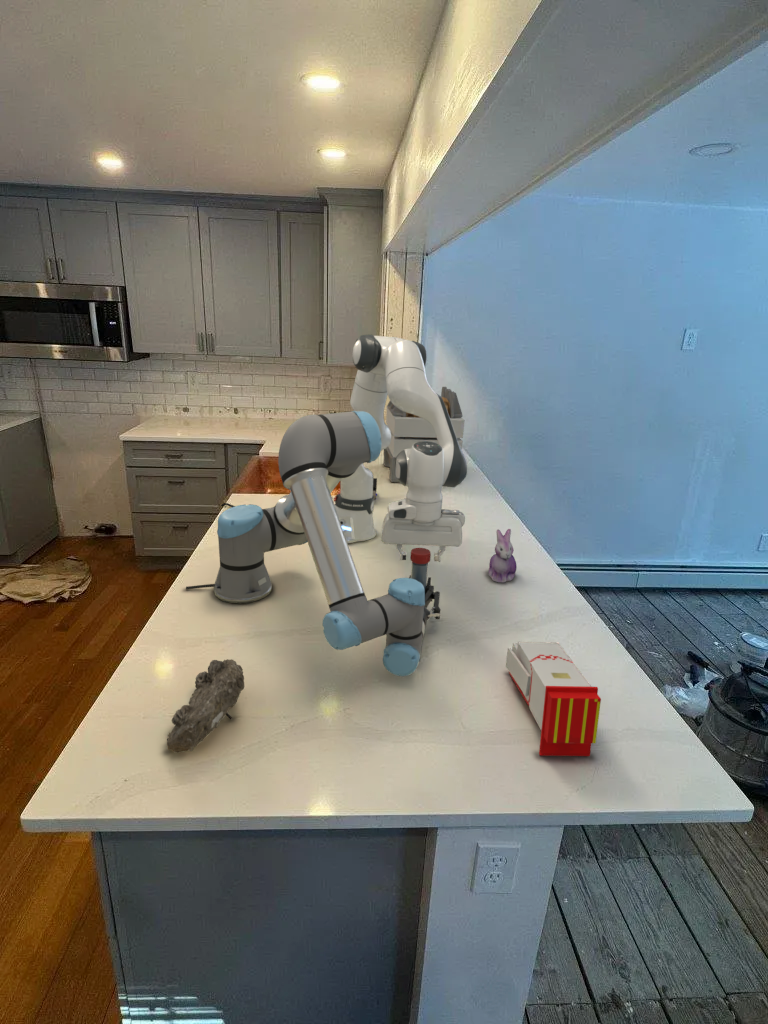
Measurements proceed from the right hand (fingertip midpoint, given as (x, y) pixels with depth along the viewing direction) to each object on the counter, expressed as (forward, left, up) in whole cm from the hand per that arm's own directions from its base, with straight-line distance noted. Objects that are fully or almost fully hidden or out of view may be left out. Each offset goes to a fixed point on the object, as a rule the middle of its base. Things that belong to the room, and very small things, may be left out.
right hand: (419, 560), depth 144 cm
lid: (0, 0, +2) cm, 2 cm away
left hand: (-1, +5, -8) cm, 10 cm away
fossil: (-28, -53, -15) cm, 61 cm away
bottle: (0, 0, -15) cm, 15 cm away
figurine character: (-39, +83, -15) cm, 93 cm away
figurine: (+20, +29, -15) cm, 38 cm away
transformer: (-28, +131, -15) cm, 135 cm away
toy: (+33, -29, -15) cm, 46 cm away
